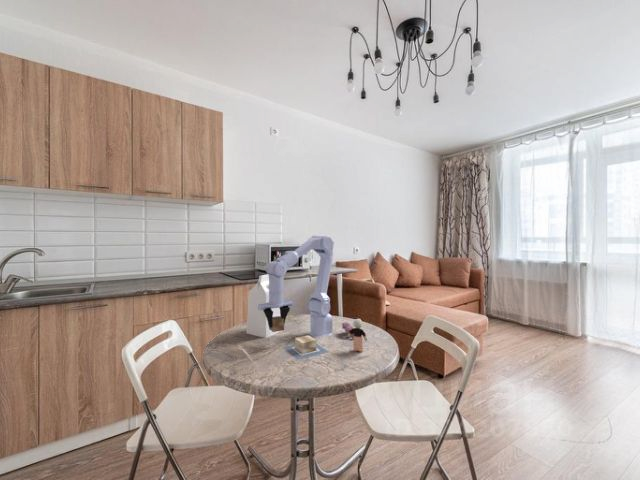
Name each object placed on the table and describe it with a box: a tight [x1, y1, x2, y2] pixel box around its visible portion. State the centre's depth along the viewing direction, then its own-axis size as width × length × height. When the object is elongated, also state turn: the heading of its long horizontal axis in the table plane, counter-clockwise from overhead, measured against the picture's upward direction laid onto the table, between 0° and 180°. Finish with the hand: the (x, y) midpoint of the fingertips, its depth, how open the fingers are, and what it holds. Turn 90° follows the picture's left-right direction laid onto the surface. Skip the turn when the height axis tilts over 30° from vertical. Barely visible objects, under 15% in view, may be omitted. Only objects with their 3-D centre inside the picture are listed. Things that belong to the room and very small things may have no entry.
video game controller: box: [341, 321, 354, 339], centre depth 127 cm, size 10×5×7 cm, turn 5°
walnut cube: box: [269, 316, 285, 332], centre depth 114 cm, size 4×4×4 cm
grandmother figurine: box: [347, 318, 368, 353], centre depth 110 cm, size 8×4×13 cm, turn 71°
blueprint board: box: [283, 343, 329, 360], centre depth 111 cm, size 13×13×1 cm
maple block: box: [294, 334, 317, 354], centre depth 111 cm, size 6×6×4 cm
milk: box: [246, 274, 281, 339], centre depth 132 cm, size 12×12×26 cm
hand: (276, 325), depth 114 cm, fingers closed on walnut cube, 4 cm apart
